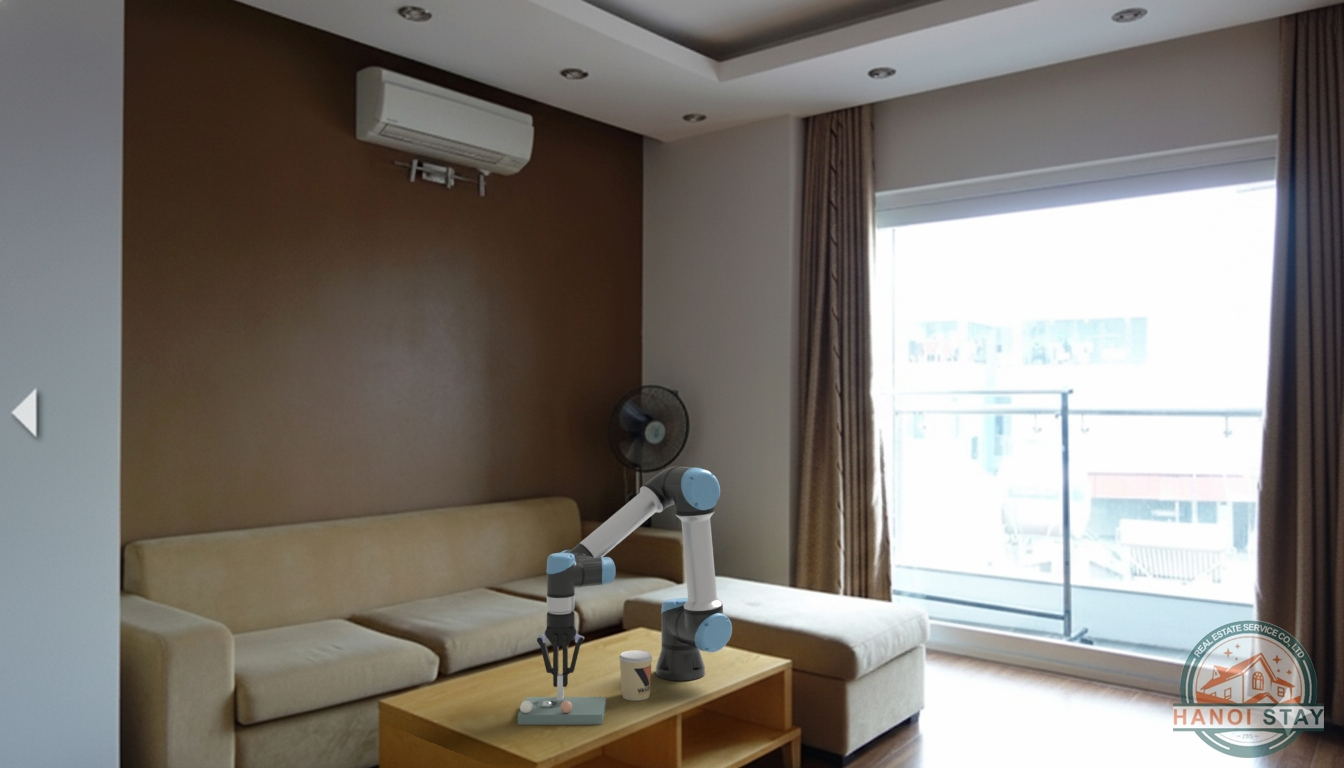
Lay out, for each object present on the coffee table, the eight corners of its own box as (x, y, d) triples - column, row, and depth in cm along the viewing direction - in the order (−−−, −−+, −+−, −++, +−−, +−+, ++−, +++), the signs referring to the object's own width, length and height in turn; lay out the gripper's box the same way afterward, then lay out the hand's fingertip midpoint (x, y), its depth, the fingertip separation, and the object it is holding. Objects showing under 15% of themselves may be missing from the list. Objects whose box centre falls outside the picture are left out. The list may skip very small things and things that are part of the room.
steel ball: (555, 704, 260) (547, 696, 260) (554, 708, 257) (546, 700, 257) (547, 713, 260) (539, 704, 260) (546, 717, 257) (537, 708, 257)
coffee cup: (640, 703, 266) (640, 660, 266) (613, 698, 271) (612, 655, 271) (658, 694, 274) (658, 652, 274) (631, 689, 279) (631, 648, 279)
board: (605, 705, 264) (605, 696, 264) (602, 724, 249) (602, 714, 249) (526, 706, 264) (526, 697, 264) (517, 724, 249) (517, 715, 249)
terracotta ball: (573, 710, 252) (573, 698, 252) (571, 714, 249) (571, 702, 249) (560, 711, 252) (560, 698, 252) (559, 715, 249) (559, 702, 249)
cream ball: (533, 711, 252) (533, 698, 252) (531, 715, 249) (531, 702, 249) (521, 711, 252) (521, 698, 252) (519, 715, 249) (519, 702, 249)
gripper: (585, 608, 263) (585, 694, 262) (538, 608, 263) (538, 694, 262) (583, 614, 255) (583, 702, 255) (534, 614, 255) (534, 703, 255)
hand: (560, 698), depth 259 cm, fingers closed
